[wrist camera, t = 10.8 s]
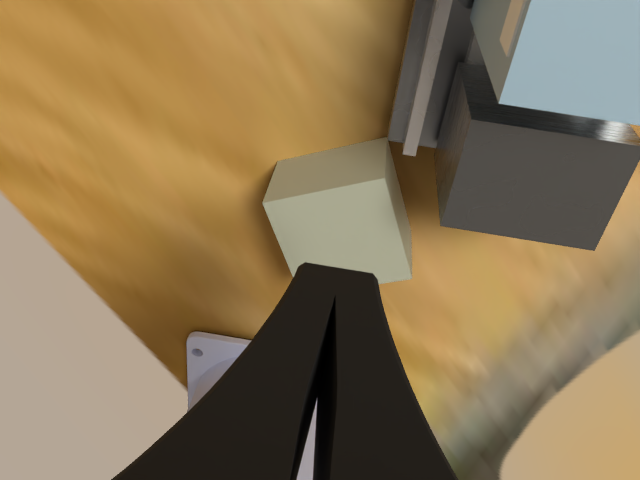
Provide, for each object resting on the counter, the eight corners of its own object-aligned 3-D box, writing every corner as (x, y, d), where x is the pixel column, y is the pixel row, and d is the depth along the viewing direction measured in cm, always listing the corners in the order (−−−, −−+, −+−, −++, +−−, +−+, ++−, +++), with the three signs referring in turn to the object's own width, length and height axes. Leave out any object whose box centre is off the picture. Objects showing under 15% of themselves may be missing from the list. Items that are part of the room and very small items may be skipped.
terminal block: (411, 228, 22) (412, 279, 20) (311, 246, 23) (300, 296, 21) (387, 134, 20) (384, 178, 18) (278, 159, 21) (262, 203, 19)
